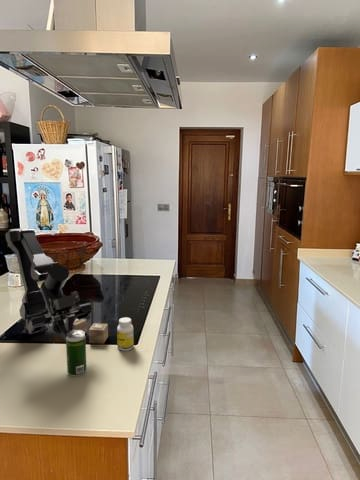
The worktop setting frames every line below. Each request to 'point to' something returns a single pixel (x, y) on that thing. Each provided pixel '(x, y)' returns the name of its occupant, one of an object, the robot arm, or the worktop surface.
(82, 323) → the marked cube
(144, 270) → the worktop surface
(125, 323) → the supplement bottle
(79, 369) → the beer can
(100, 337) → the marked cube
